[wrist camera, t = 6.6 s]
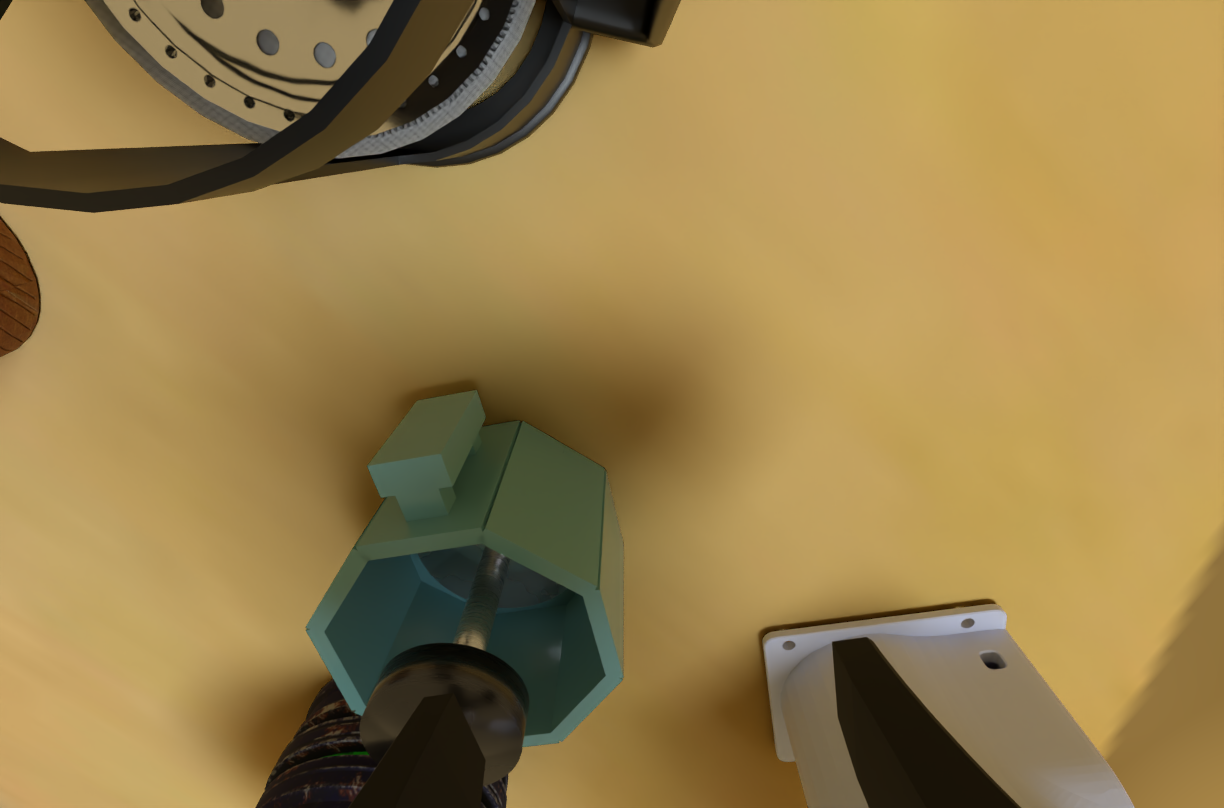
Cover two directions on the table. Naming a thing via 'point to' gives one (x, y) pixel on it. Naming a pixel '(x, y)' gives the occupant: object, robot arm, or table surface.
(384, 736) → the plunger
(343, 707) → the storage jar
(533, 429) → the carafe
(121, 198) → the french press
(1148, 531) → the table surface
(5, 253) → the disposable coffee cup
